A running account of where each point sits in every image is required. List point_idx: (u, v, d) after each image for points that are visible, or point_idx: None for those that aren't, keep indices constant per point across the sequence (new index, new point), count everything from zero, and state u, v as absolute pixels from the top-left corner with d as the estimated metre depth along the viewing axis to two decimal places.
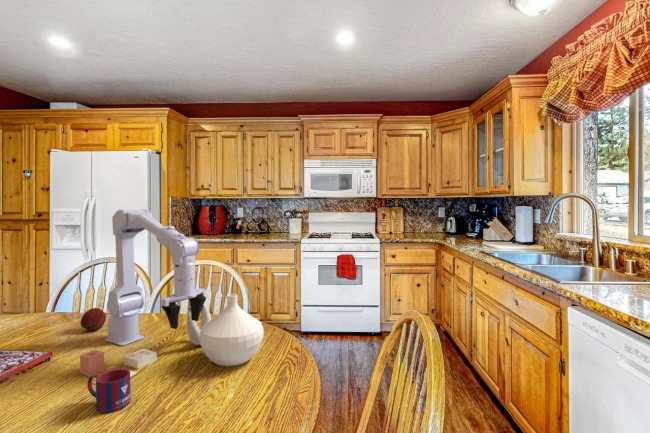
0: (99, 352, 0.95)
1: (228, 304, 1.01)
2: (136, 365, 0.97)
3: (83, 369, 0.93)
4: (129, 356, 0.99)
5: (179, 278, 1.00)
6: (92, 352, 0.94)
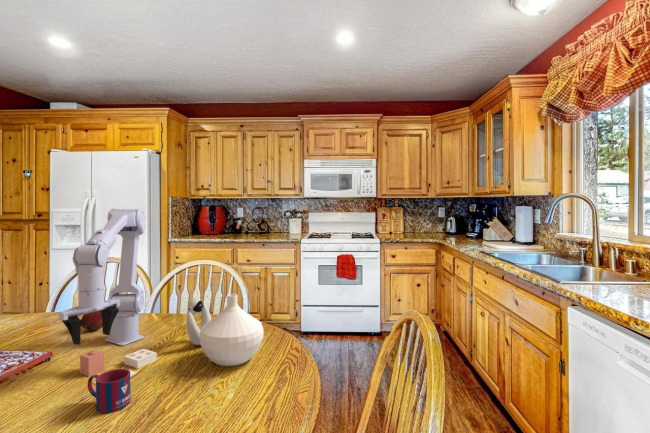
0: (99, 352, 0.95)
1: (228, 304, 1.01)
2: (136, 365, 0.97)
3: (83, 369, 0.93)
4: (129, 356, 0.99)
5: None
6: (92, 352, 0.94)
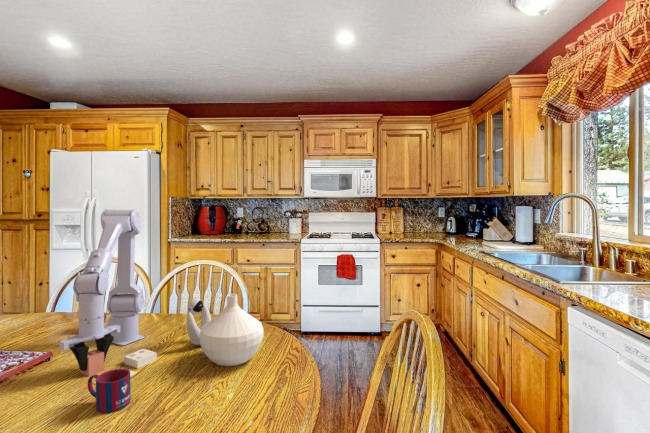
0: (99, 352, 0.95)
1: (228, 304, 1.01)
2: (136, 365, 0.97)
3: None
4: (129, 356, 0.99)
5: None
6: (92, 352, 0.94)
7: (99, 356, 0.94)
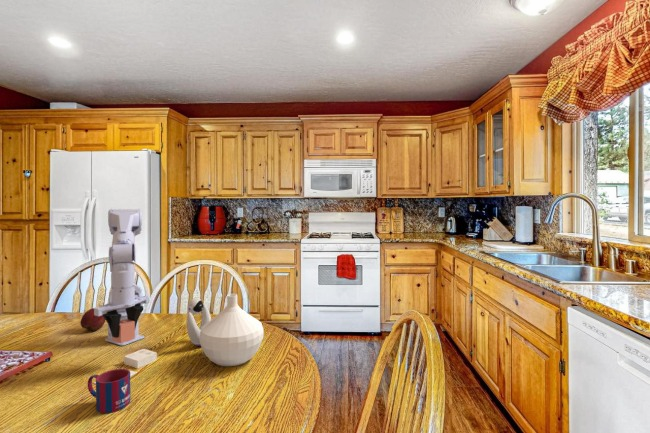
0: (130, 321, 0.99)
1: (228, 304, 1.01)
2: (136, 365, 0.97)
3: None
4: (129, 356, 0.99)
5: (111, 285, 0.96)
6: (123, 320, 0.98)
7: (130, 324, 0.98)
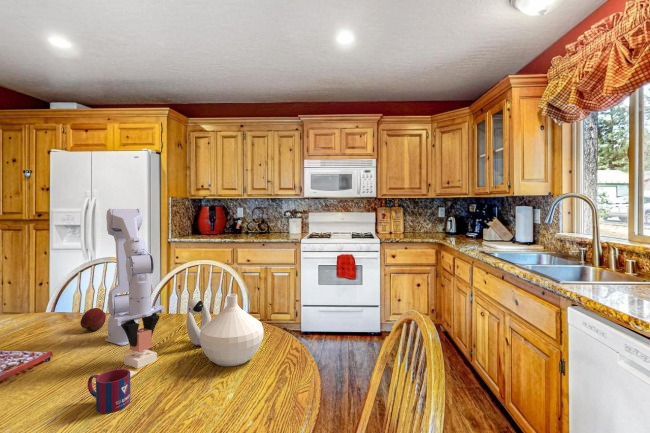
0: (147, 330, 1.01)
1: (228, 304, 1.01)
2: (136, 365, 0.97)
3: None
4: (129, 356, 0.99)
5: (130, 296, 0.98)
6: (141, 330, 1.00)
7: (147, 334, 1.00)
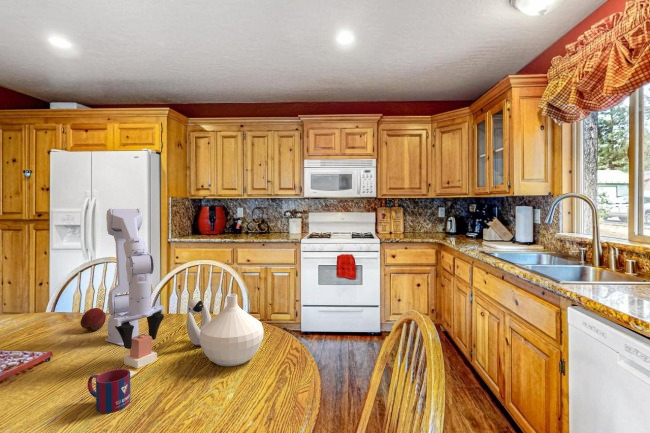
0: (147, 336, 1.01)
1: (228, 304, 1.01)
2: (136, 365, 0.97)
3: (133, 351, 0.99)
4: (129, 356, 0.99)
5: (130, 296, 0.98)
6: (141, 336, 1.01)
7: (147, 340, 1.00)
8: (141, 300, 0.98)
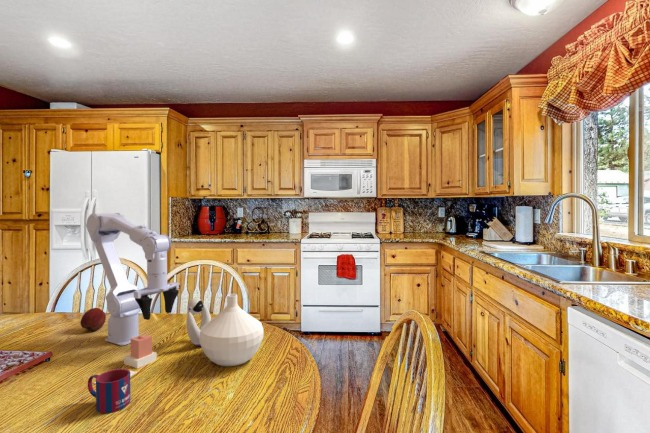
0: (147, 336, 1.01)
1: (228, 304, 1.01)
2: (135, 365, 0.97)
3: (133, 352, 0.99)
4: (129, 356, 0.99)
5: (152, 272, 1.07)
6: (141, 336, 1.00)
7: (147, 340, 1.00)
8: (158, 275, 1.07)
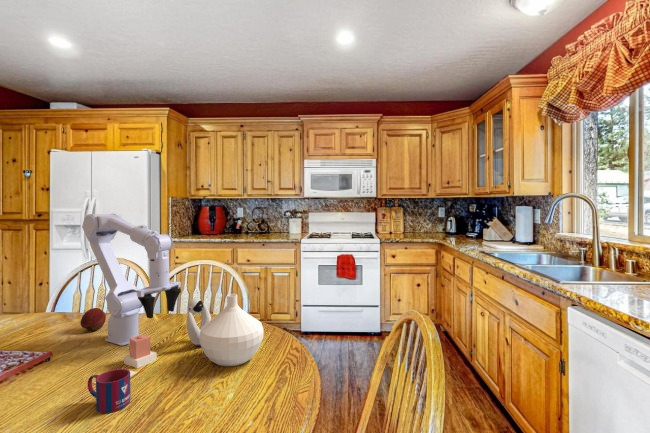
0: (146, 337, 1.01)
1: (228, 304, 1.01)
2: (135, 365, 0.97)
3: (132, 352, 0.99)
4: (129, 356, 0.99)
5: (155, 271, 1.08)
6: (140, 336, 1.00)
7: (146, 341, 1.00)
8: (161, 274, 1.09)
